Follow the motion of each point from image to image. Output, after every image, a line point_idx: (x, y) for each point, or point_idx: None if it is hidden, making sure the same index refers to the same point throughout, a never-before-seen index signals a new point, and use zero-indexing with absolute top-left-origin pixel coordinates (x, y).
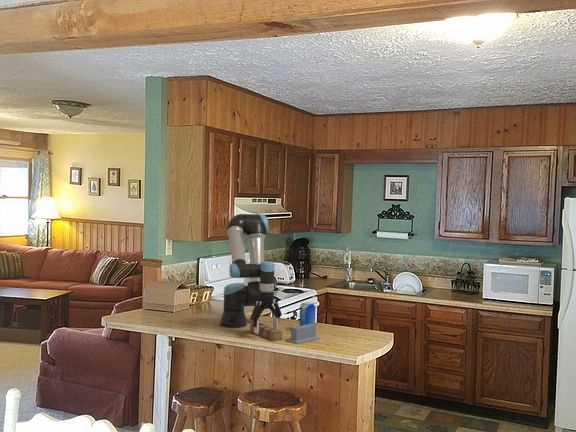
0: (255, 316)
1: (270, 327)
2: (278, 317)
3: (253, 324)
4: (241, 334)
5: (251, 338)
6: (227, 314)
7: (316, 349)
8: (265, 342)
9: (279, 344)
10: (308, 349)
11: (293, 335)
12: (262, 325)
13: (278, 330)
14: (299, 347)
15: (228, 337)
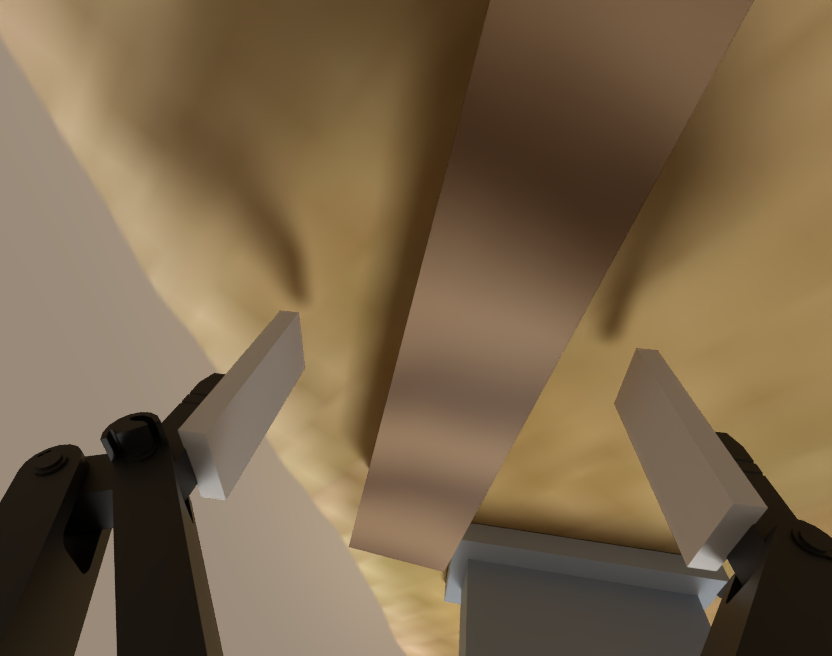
0: (84, 577)
1: (492, 435)
2: (724, 586)
3: (187, 400)
4: (257, 18)
5: (262, 288)
6: None
7: (435, 653)
8: (293, 447)
9: (345, 525)
10: (403, 635)
11: (463, 611)
12: (517, 286)
13: (441, 543)
14: (395, 605)
15: (9, 42)
